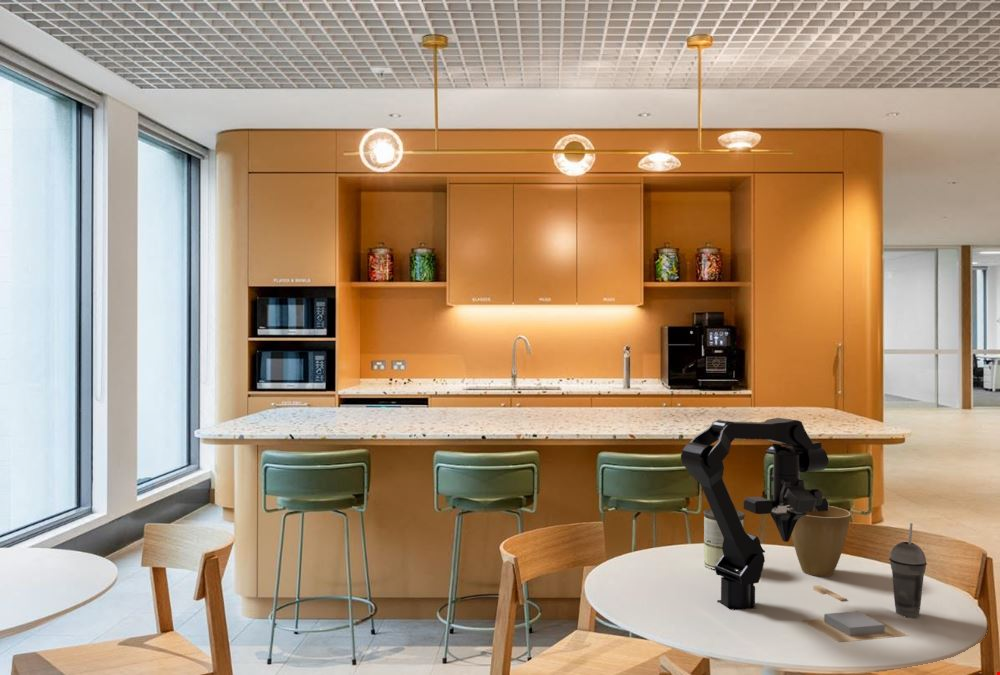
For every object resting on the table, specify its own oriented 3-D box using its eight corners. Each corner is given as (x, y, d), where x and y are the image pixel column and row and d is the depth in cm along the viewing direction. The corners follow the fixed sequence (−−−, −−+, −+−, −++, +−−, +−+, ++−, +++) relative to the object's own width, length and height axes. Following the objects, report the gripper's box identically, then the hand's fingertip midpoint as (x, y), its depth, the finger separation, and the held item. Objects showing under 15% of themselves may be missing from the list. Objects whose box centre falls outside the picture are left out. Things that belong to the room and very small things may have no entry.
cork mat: (838, 645, 154) (838, 642, 154) (801, 623, 166) (801, 620, 166) (908, 638, 158) (908, 635, 158) (867, 617, 170) (867, 614, 170)
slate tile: (849, 627, 157) (884, 624, 159) (824, 613, 165) (857, 611, 167) (849, 636, 157) (884, 633, 159) (824, 622, 165) (857, 619, 167)
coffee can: (710, 558, 214) (710, 506, 214) (748, 564, 208) (749, 511, 208) (697, 567, 205) (698, 513, 205) (737, 574, 200) (738, 518, 200)
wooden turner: (872, 612, 173) (872, 607, 173) (852, 613, 172) (852, 609, 172) (825, 589, 189) (825, 584, 189) (807, 590, 188) (807, 586, 188)
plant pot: (776, 571, 203) (776, 509, 202) (804, 560, 213) (804, 501, 212) (833, 585, 192) (834, 519, 191) (860, 573, 202) (860, 510, 201)
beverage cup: (914, 608, 176) (915, 518, 176) (933, 620, 168) (934, 526, 168) (882, 608, 175) (883, 518, 175) (899, 620, 168) (900, 526, 168)
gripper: (769, 481, 172) (769, 553, 172) (844, 478, 176) (844, 548, 176) (742, 472, 182) (741, 540, 183) (813, 470, 187) (813, 536, 187)
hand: (785, 541), depth 182 cm, fingers closed
